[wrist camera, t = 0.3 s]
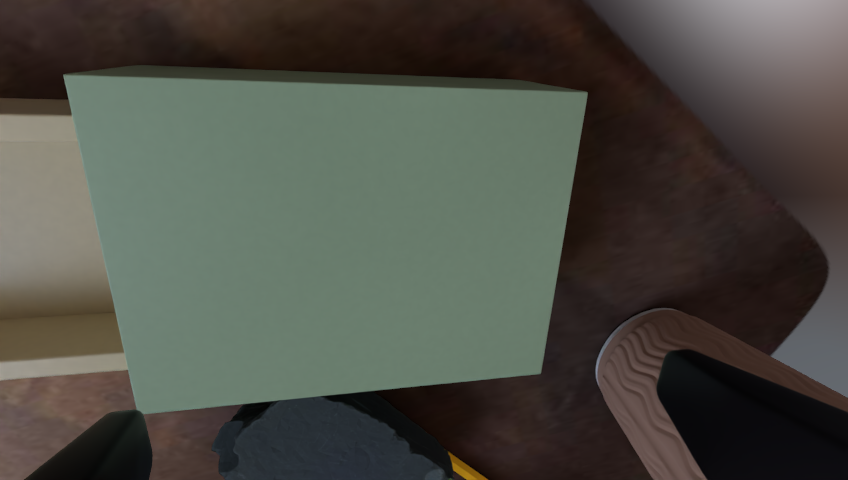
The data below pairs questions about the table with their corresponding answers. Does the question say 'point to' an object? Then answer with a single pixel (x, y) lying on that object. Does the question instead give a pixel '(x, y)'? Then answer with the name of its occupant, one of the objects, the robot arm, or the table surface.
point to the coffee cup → (639, 371)
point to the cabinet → (324, 227)
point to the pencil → (465, 469)
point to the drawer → (50, 251)
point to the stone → (328, 442)
